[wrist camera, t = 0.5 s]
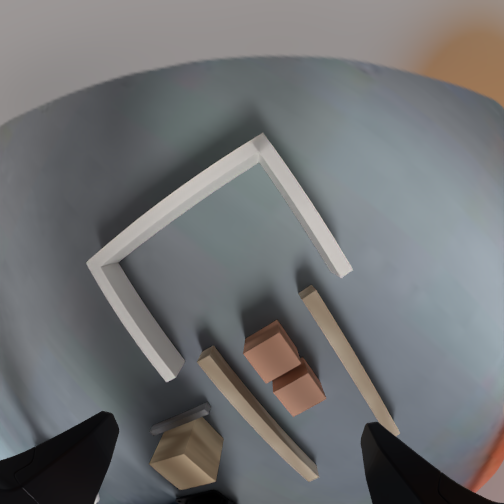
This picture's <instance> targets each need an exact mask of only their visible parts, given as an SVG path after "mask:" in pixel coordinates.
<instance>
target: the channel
mask: <svg viewBox="0 0 504 504" xmlns="http://www.w3.org/2000/svg"><path fill="white" fill-rule="evenodd" d="M298 294H299V295H300V297H301V299H302V300H303V302H304V303H305V305H306V306H307V308H308V310H309V311H310V313H311V314H312V316H313V317H314V319H315V321H316V322H317V324H318V325H319V327H320V328H321V330H322V332H323V333H324V335H325V336H326V338H327V339H328V341H329V343H330V344H331V346H332V347H333V349H334V350H335V352H336V354H337V355H338V357H339V358H340V360H341V362H342V363H343V365H344V366H345V368H346V370H347V371H348V373H349V374H350V376H351V378H352V379H353V381H354V382H355V384H356V386H357V387H358V389H359V390H360V392H361V394H362V395H363V397H364V398H365V400H366V402H367V403H368V405H369V407H370V408H371V410H372V411H373V413H374V415H375V416H376V418H377V420H378V421H379V423H380V424H381V425H382V426H384V427H385V428H386V429H387V430H389V431H390V432H391V433H392V434H393V435H395V436H397V435H398V434H400V432H399V430H398V428H397V426H396V425H395V423H394V421H393V419H392V417H391V416H390V414H389V412H388V410H387V408H386V407H385V405H384V403H383V401H382V400H381V398H380V396H379V394H378V392H377V391H376V389H375V387H374V385H373V384H372V382H371V380H370V379H369V377H368V375H367V373H366V372H365V370H364V368H363V366H362V365H361V363H360V361H359V360H358V358H357V356H356V355H355V353H354V351H353V349H352V348H351V346H350V344H349V343H348V341H347V339H346V338H345V336H344V334H343V333H342V331H341V329H340V328H339V326H338V325H337V323H336V321H335V320H334V318H333V316H332V315H331V313H330V311H329V310H328V308H327V307H326V305H325V303H324V302H323V300H322V298H321V297H320V295H319V294H318V292H317V290H316V289H315V288H314V287H313V286H312V285H310V286H309V287H307V288H306V289H304V290H302V291H301V292H299V293H298ZM197 363H198V364H199V365H200V367H201V368H202V369H203V370H204V372H205V373H206V374H207V375H208V377H209V378H210V379H211V380H212V381H213V383H214V384H215V385H216V386H217V388H218V389H219V390H220V391H221V392H222V393H223V395H224V396H225V397H226V398H227V399H228V400H229V402H230V403H231V404H232V405H233V406H234V407H235V408H236V410H237V411H238V412H239V413H240V414H241V415H242V416H243V417H244V419H245V420H246V421H247V422H248V423H249V424H250V425H251V426H252V427H253V428H254V429H255V430H256V431H257V432H258V434H259V435H260V436H261V437H262V438H263V439H264V440H265V441H266V442H267V443H268V444H269V445H270V446H271V447H272V448H273V449H274V450H275V451H276V452H277V453H278V454H279V455H280V456H281V457H282V458H283V459H284V460H285V461H286V462H287V463H289V464H290V465H291V466H292V467H293V468H294V469H295V470H296V471H297V472H298V473H299V474H300V475H301V476H303V477H304V478H305V479H306V480H307V481H308V482H310V481H312V480H315V479H317V478H319V475H318V470H317V465H316V464H315V463H314V462H313V461H312V460H311V459H310V458H309V457H308V456H307V455H306V454H305V453H304V452H303V451H302V450H301V449H300V448H299V447H298V446H297V445H296V443H295V442H294V441H293V440H292V439H291V438H290V437H289V436H288V435H287V434H286V433H285V432H284V430H283V429H282V428H281V427H280V426H279V425H278V424H277V423H276V421H275V420H274V419H273V418H272V417H271V416H270V415H269V413H268V412H267V411H266V410H265V409H264V408H263V406H262V405H261V404H260V403H259V402H258V401H257V399H256V398H255V397H254V396H253V395H252V393H251V392H250V391H249V390H248V389H247V387H246V386H245V385H244V384H243V382H242V381H241V380H240V379H239V377H238V376H237V375H236V374H235V372H234V371H233V370H232V369H231V367H230V366H229V365H228V363H227V362H226V361H225V360H224V358H223V357H222V356H221V354H220V353H219V352H218V350H217V349H216V348H215V346H214V345H213V346H211V347H210V348H208V349H206V350H204V351H203V352H202V353H201V355H200V357H199V359H198V361H197Z"/></svg>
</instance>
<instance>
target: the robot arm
mask: <svg viewBox="0 0 504 504" xmlns="http://www.w3.org/2000/svg"><path fill="white" fill-rule="evenodd" d="M118 434H119V427H118V424H117V422H116V420H115V418H114V415H113V414H112V413H109V412H105V411H101V412H99V413H98V414H96V415H94V416H92V417H91V418H89V419H87V420H85V421H83V422H82V423H80V424H78V425H76V426H74V427H72V428H70V429H69V430H67V431H65V432H63V433H61V434H59V435H57V436H55V437H53V438H51V439H49V440H47V441H46V442H44V443H42V444H40V445H38V446H36V447H33V448H31V449H29V450H27V451H25V452H23V453H20V454H18V455H15V456H13V457H10V458H7V459H4V460H1V461H0V504H94V502H95V500H96V497H97V495H98V492H99V490H100V487H101V485H102V482H103V480H104V477H105V475H106V472H107V470H108V467H109V465H110V462H111V459H112V455H113V452H114V448H115V445H116V441H117V438H118ZM361 448H362V454H363V462H364V469H365V476H366V481H367V484H368V488H369V492H370V496H371V499H372V503H373V504H504V503H498V502H493V501H491V500H488V499H486V498H484V497H482V496H480V495H478V494H476V493H474V492H472V491H470V490H468V489H467V488H465V487H463V486H461V485H460V484H458V483H456V482H455V481H453V480H452V479H451V478H449V477H448V476H446V475H445V474H444V473H442V472H441V471H439V470H438V469H437V468H435V467H434V466H433V465H432V464H430V463H429V462H428V461H426V460H425V459H424V458H422V457H421V456H420V455H419V454H417V453H416V452H415V451H413V450H412V449H411V448H410V447H408V446H407V445H406V444H405V443H403V442H402V441H401V440H400V439H398V438H397V437H396V436H395V435H393V434H392V433H391V432H390V431H389V430H387V429H386V428H385V427H384V426H382V425H381V424H380V423H379V422H371V423H367V424H366V425H365V428H364V431H363V434H362V437H361ZM176 502H177V503H179V504H234V503H233V502H232V501H230V500H229V499H227V498H226V497H225V496H223V495H222V494H221V493H219V492H218V491H216V490H210V491H206V492H202V493H198V494H193V495H188V496H183V497H178V498H176Z"/></svg>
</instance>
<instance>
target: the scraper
mask: <svg viewBox="0 0 504 504" xmlns="http://www.w3.org/2000/svg"><path fill="white" fill-rule="evenodd" d="M210 408H211V406H210V405H209V404H208V403H207V402H206V403H204V404H202V405H199V406H197V407H195V408H193V409H191V410H188V411H186V412H184V413H181V414H179V415H177V416H174V417H172V418H170V419H167V420H165V421H162V422H160V423H157V424H155V425H153V426H152V428H151V430H150V433H151V434H152V435H153V436H155V435H157V434H160V433H163V432H164V433H163V435H162V437H161V440H160V442H159V444H158V446H157V448H156V450H155V452H154V454H153V457H152V459H151V461H150V463H149V464H150V465H151V466H152V467H153V468H154V469H155V470H156V471H157V472H159V473H160V474H161V475H162V476H163V477H164V478H166V479H167V480H168V481H169V482H171V483H172V484H173V485H174V486H176V487H177V488H178V489H179V490H183V489H188V488H192V487H197V486H201V485H205V484H209V483H212V482H216V479H217V473H218V468H219V462H220V457H221V451H222V446H223V440H224V439H223V438H222V437H221V436H220V435H219V434H218V433H217V432H216V431H215V430H214V429H213V428H212V426H211V425H210V424H209V423H208V422H207V421H206V420H205V419H204V418H203V416H205V415H208V414H209V412H210Z"/></svg>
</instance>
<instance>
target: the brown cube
mask: <svg viewBox="0 0 504 504" xmlns="http://www.w3.org/2000/svg"><path fill="white" fill-rule="evenodd" d="M300 361H301V364H300V365H298V366H297V367H295V368H293V369H291V370H290V371H288V372H286V373H284V374H283V375H281V376H279V377H277V378H275V379H274V380H272V381H273V393H274V394H275V395H276V396H277V398H278V399H279V400H280V401H281V403H282V404H283V405H284V406H285V407H286V409H287V410H288V411H289V412H290V413H291V415H292V416H293V417H294V416H296V415H298V414H300V413H301V412H303V411H305V410H307V409H309V408H311V407H313V406H314V405H316V404H318V403H320V402H322V401H323V400H325V399H326V396H325V394H324V391H323V388H322V386H321V383H320V381H319V379H318V378H317V376H316V375H315V374H314V372H313V371H312V369H311V368H310V366H309V365H308V364H307V362H306V361H305V359H304V358H303V357H302V358H300Z"/></svg>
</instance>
